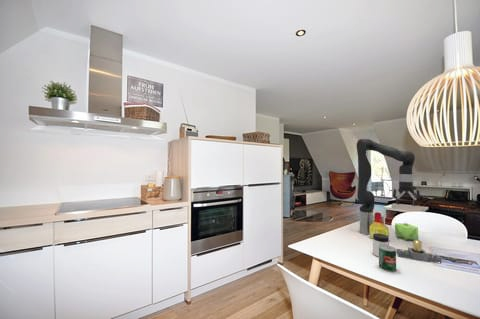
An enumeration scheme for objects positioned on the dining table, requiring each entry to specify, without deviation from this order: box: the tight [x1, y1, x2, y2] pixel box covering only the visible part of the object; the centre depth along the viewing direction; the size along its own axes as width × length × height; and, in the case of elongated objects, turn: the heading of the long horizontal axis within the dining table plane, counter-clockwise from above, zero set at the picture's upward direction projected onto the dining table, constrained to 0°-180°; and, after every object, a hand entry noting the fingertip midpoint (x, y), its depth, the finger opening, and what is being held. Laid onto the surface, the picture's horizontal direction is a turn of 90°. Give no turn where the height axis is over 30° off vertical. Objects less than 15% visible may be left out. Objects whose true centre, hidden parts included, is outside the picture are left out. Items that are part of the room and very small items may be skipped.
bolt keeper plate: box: [395, 247, 443, 264], centre depth 128 cm, size 20×8×4 cm, turn 63°
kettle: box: [392, 222, 419, 241], centre depth 159 cm, size 15×14×11 cm
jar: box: [372, 234, 390, 258], centre depth 132 cm, size 9×8×12 cm
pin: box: [412, 239, 423, 253], centre depth 128 cm, size 4×4×10 cm
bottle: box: [369, 211, 390, 239], centre depth 157 cm, size 12×6×20 cm, turn 44°
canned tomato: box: [378, 245, 397, 273], centre depth 117 cm, size 8×8×11 cm
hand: (406, 204), depth 144 cm, fingers open, 8 cm apart
